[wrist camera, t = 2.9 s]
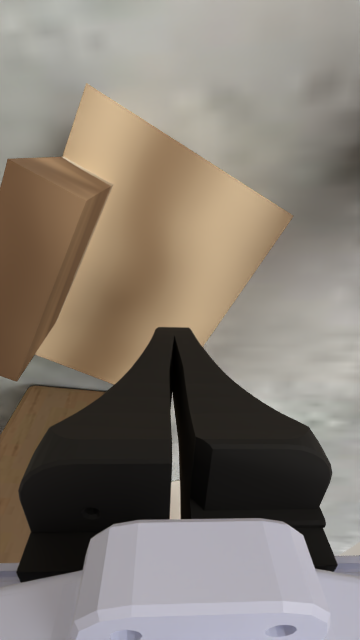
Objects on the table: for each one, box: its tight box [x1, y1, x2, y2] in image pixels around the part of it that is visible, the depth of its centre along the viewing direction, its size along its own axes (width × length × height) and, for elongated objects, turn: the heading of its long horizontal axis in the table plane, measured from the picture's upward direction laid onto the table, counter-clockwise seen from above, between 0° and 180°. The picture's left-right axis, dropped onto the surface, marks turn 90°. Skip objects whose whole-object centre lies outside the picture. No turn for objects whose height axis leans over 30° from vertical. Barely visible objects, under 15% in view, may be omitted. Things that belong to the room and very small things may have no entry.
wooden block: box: [0, 386, 106, 563], centre depth 18 cm, size 10×10×20 cm
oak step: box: [35, 83, 293, 385], centre depth 17 cm, size 10×13×4 cm
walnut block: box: [0, 157, 113, 382], centre depth 12 cm, size 2×8×5 cm, turn 151°
